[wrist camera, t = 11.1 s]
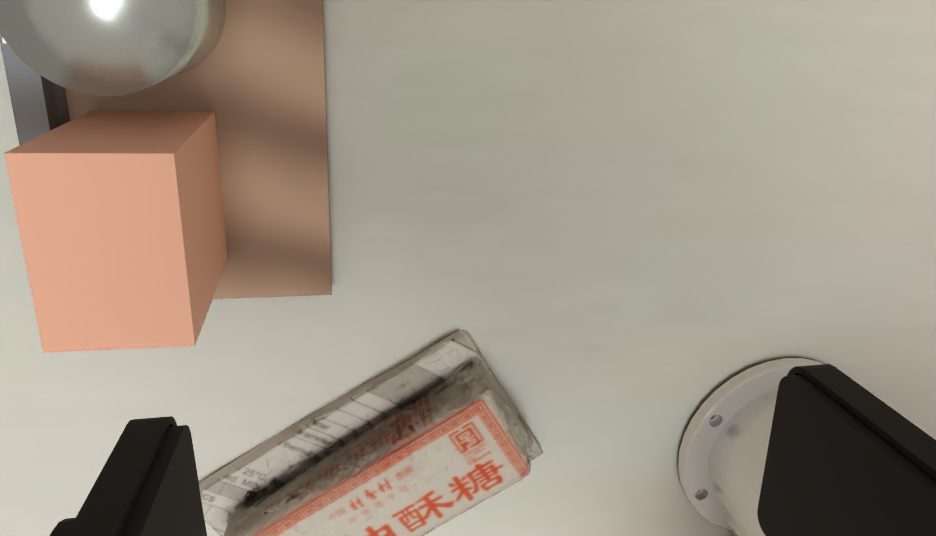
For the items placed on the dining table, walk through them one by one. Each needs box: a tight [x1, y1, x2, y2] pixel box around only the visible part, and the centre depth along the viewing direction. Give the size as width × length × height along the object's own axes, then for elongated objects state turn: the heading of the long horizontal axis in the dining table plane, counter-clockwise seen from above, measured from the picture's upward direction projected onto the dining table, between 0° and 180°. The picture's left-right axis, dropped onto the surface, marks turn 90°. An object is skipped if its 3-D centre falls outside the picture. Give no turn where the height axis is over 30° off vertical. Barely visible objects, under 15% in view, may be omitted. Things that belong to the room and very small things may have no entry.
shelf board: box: [0, 0, 332, 299], centre depth 30 cm, size 17×12×4 cm
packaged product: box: [199, 330, 543, 536], centre depth 39 cm, size 18×5×10 cm
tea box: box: [4, 110, 227, 353], centre depth 28 cm, size 7×5×9 cm
